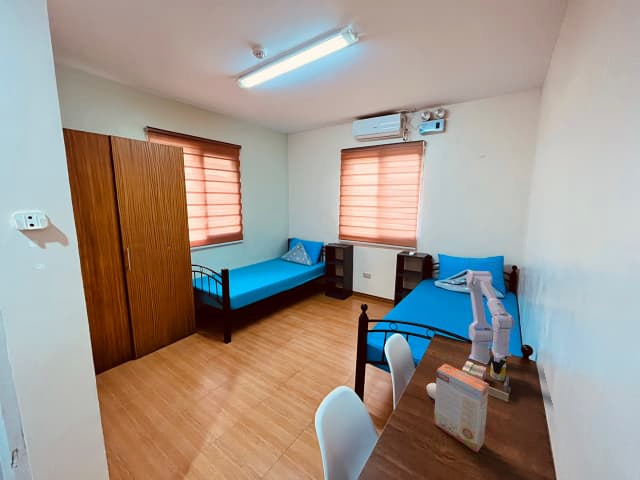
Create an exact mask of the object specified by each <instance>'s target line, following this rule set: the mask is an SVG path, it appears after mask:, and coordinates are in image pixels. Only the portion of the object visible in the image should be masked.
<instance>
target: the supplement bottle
mask: <svg viewBox="0 0 640 480" xmlns="http://www.w3.org/2000/svg"><path fill="white" fill-rule="evenodd" d="M501 360H504V361H506V359H505V358H504V357H503V358H501ZM490 362H491V361H490ZM506 363H507V362H506ZM506 363H505V364H504V365H503V367H502V369H501V372H500V374H497V373H494V370H493V365H492V362H491V364H490V373H489V374H490V377H492V378H493V380H494V379H495V380H497V381H505V380H506V369H507V364H506Z"/></svg>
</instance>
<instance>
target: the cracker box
mask: <svg viewBox="0 0 640 480" xmlns="http://www.w3.org/2000/svg"><path fill="white" fill-rule="evenodd" d="M489 386H490V384H489V383H488V382H485V380H484V381H482V380H480V379H478V378H475V377H473V376H471V375H469V374H467V373H465V372H462V370H460V369H459V368H456V367H454V366H452V365H450V364H447V363H444V364H442V365H441V366H440V367H438V368H437V369H436V396H435V399H434V402H435V403H434V415H433V424H434V425H435V426H437V427H438V428H439V429H440V430H442V431H444V432H445V433H447V434H448V435H450V436H451V437H453V438H455V440H457V441H458V442H459V443H462V444H463V445H465V446H466V447H467V448H468V449H470V450H472V451H473V452H475V453H478V452H479V451H480V449H481V448H482V446H484V444H485V433H486V425H487V424H486V421H487V410H488V399H489V394H488V387H489Z"/></svg>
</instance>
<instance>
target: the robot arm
mask: <svg viewBox="0 0 640 480" xmlns="http://www.w3.org/2000/svg"><path fill="white" fill-rule="evenodd" d="M465 281H466V286H467V288H468V289H469V291H470V300H471V308H472V313H473V314H472V315H473V322H472V323H471V324H469V325H468V329H469V330H468V336H469V339H470V340H471V341H472V342H471V343H472V344H471V353H470V354H469V356H468V359H469V360H473V361H475V362H477V363H481V364H484V365H488V364H489V362H492V365H493V370H494V373H497V374H500V372H501V369H502V367H503V365H504V364H505V363H507V360H506V359H507V358H508V357H512V353H511V352H509V348H510V337H511V336H510V335H511V330H512V329H514V328H515V320H514V317H513V316H512V315H511V314H510V313H509V312H507V310H506V309H505V307H504V305H503V303H502V301H501V299H498V298H497V296H496V294H495V291H494V287H493V285H492V283H493V276H492V274H491V272H490V271H488V270H487V271H484V270H483V271H481V270H475V271H474V270H469V271H467V273H466V276H465ZM482 293H483V294H484V295H485V297H486V299H487V302H486V305H487V307H488V310H489V312H490V314H491V316H492V318H491V324H492V325H490V324H489V323H488V322H487V320H486V311H485V307H484V299H483V294H482ZM491 344H492V347H491V353H492V355H491V354H490V346H491ZM503 357H504V358H505V361H504V360H501V358H503Z"/></svg>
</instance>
